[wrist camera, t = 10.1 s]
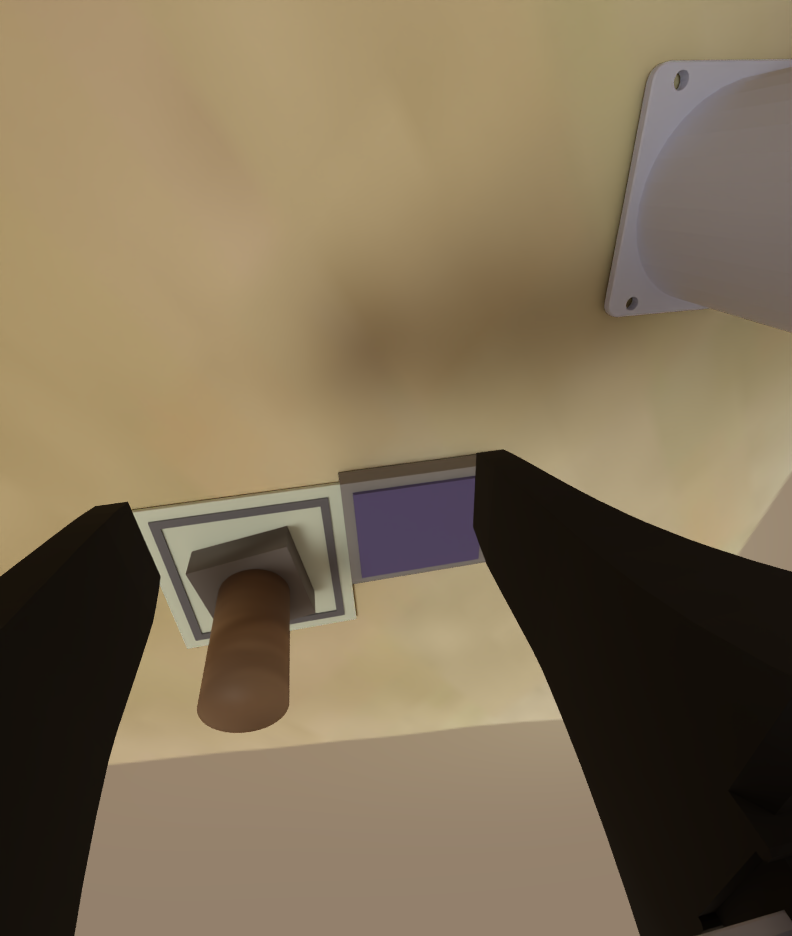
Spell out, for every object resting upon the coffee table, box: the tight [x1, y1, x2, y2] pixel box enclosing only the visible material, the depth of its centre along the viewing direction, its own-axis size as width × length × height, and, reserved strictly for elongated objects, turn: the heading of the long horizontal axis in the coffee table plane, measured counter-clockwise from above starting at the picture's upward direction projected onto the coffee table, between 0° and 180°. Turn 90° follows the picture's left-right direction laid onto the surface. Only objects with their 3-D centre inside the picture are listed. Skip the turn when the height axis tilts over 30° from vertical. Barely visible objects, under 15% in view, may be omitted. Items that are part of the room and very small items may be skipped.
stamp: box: [186, 526, 316, 733], centre depth 20 cm, size 4×4×7 cm
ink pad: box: [338, 455, 486, 584], centre depth 23 cm, size 7×6×1 cm
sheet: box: [132, 482, 356, 649], centre depth 23 cm, size 9×9×1 cm
